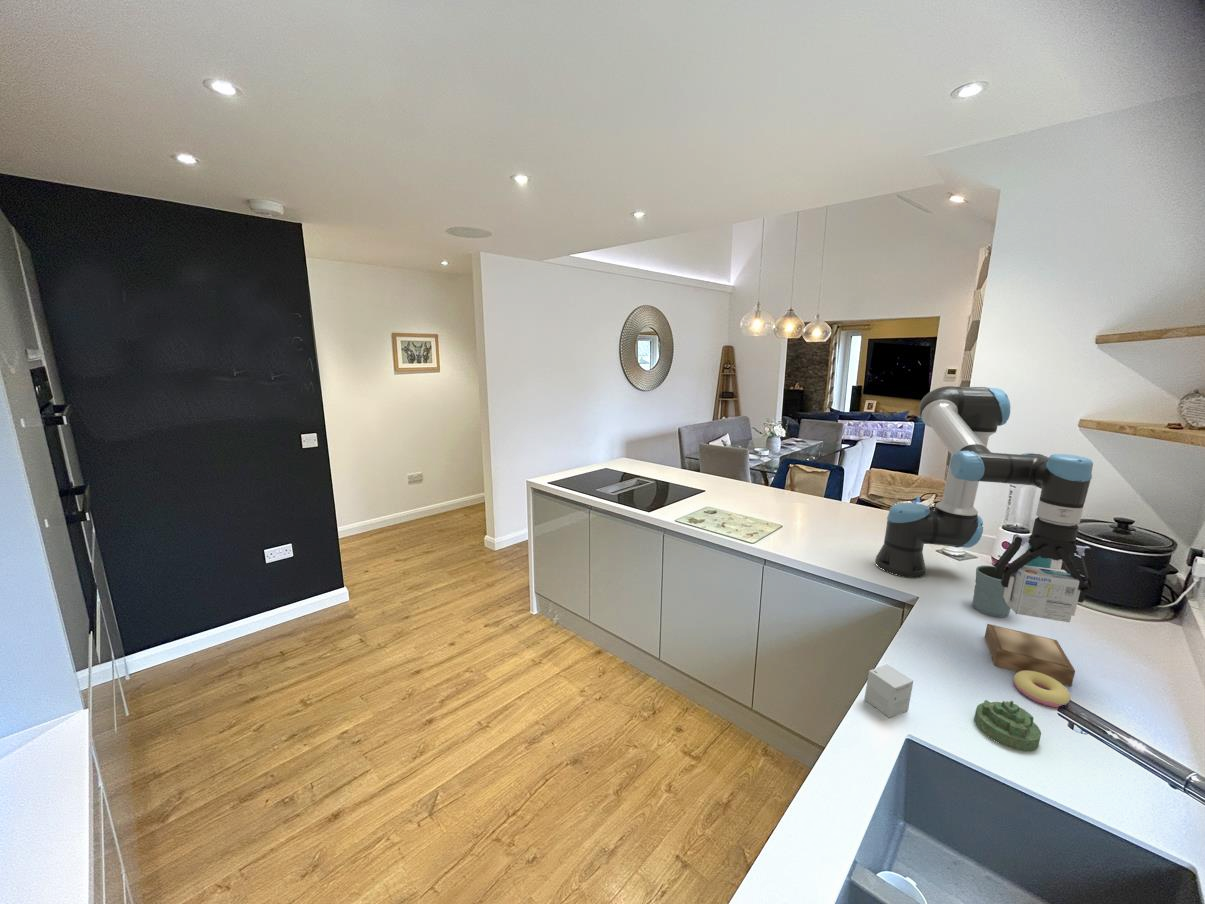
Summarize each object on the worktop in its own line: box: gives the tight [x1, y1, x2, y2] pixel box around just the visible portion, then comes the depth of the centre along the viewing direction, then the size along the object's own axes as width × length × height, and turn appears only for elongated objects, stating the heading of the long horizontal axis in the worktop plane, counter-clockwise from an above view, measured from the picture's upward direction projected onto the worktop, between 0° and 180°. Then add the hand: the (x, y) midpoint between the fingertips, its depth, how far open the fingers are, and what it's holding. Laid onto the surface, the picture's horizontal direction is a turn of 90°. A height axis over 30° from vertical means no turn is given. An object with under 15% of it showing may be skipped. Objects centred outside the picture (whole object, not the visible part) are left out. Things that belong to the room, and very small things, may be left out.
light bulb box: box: [1005, 565, 1080, 623], centre depth 115 cm, size 11×7×11 cm, turn 71°
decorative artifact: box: [973, 699, 1042, 752], centre depth 95 cm, size 10×7×10 cm
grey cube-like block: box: [864, 664, 914, 718], centre depth 102 cm, size 6×6×7 cm
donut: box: [1013, 670, 1071, 708], centre depth 107 cm, size 10×5×9 cm
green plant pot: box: [972, 564, 1012, 618], centre depth 141 cm, size 10×10×12 cm
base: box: [984, 623, 1076, 687], centre depth 118 cm, size 14×14×4 cm
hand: (1037, 606), depth 116 cm, fingers closed on light bulb box, 11 cm apart
